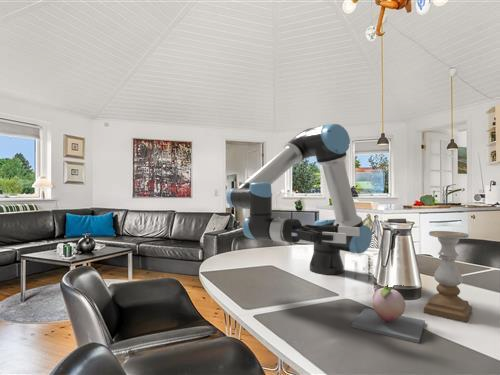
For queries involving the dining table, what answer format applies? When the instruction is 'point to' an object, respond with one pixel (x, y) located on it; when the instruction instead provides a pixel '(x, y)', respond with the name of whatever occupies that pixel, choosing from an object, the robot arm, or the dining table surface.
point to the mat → (390, 325)
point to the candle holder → (448, 281)
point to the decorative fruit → (388, 303)
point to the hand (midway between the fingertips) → (353, 235)
